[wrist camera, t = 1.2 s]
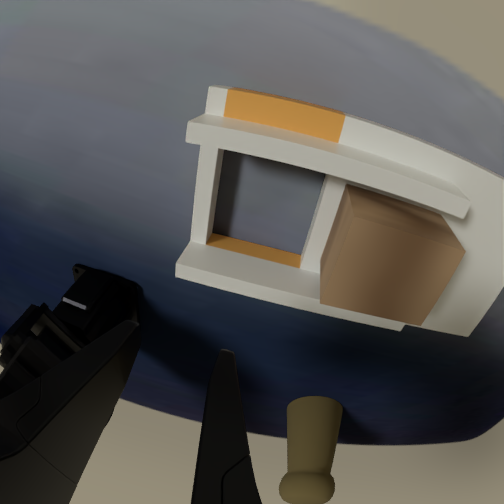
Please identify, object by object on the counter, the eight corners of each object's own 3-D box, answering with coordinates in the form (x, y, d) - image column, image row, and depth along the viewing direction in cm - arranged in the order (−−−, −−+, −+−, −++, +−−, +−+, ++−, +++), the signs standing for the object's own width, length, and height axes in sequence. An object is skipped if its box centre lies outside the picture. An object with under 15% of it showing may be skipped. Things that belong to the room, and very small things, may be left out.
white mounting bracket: (194, 259, 23) (174, 295, 19) (217, 84, 16) (192, 90, 13) (463, 324, 22) (476, 360, 18) (536, 195, 15) (567, 223, 12)
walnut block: (320, 259, 19) (319, 303, 16) (346, 183, 16) (354, 216, 13) (407, 281, 19) (420, 326, 15) (440, 214, 16) (465, 251, 13)
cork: (338, 423, 32) (332, 510, 23) (286, 420, 33) (272, 507, 24) (347, 396, 29) (343, 498, 20) (287, 394, 30) (271, 494, 21)
